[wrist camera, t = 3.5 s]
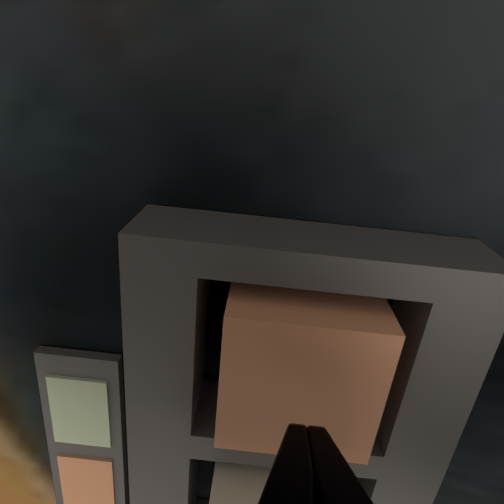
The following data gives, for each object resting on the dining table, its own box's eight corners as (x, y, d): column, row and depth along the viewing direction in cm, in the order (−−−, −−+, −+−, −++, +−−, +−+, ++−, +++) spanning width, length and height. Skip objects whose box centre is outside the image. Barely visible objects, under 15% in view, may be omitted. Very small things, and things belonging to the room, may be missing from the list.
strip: (129, 516, 18) (125, 528, 17) (63, 509, 18) (57, 521, 17) (122, 354, 14) (116, 364, 14) (39, 345, 14) (30, 355, 14)
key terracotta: (349, 389, 14) (367, 464, 11) (225, 375, 14) (213, 447, 11) (376, 279, 12) (405, 336, 10) (234, 264, 12) (223, 317, 10)
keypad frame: (348, 614, 20) (358, 683, 18) (152, 592, 20) (136, 657, 18) (478, 239, 12) (526, 276, 10) (147, 204, 12) (117, 233, 10)
